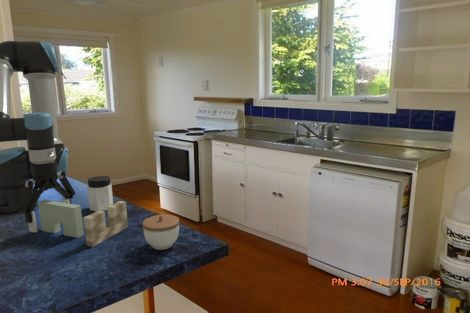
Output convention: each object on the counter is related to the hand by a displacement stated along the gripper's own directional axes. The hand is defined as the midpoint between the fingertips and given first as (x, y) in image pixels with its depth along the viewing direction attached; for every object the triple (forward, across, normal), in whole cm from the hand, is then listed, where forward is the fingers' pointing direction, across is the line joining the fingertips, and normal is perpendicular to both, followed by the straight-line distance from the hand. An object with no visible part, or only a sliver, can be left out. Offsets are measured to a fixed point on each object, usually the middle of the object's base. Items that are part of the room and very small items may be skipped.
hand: (51, 223), depth 121 cm
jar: (+3, +23, 0) cm, 23 cm away
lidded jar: (+3, +4, -40) cm, 41 cm away
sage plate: (+2, 0, -4) cm, 5 cm away
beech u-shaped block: (+3, +4, -20) cm, 21 cm away
